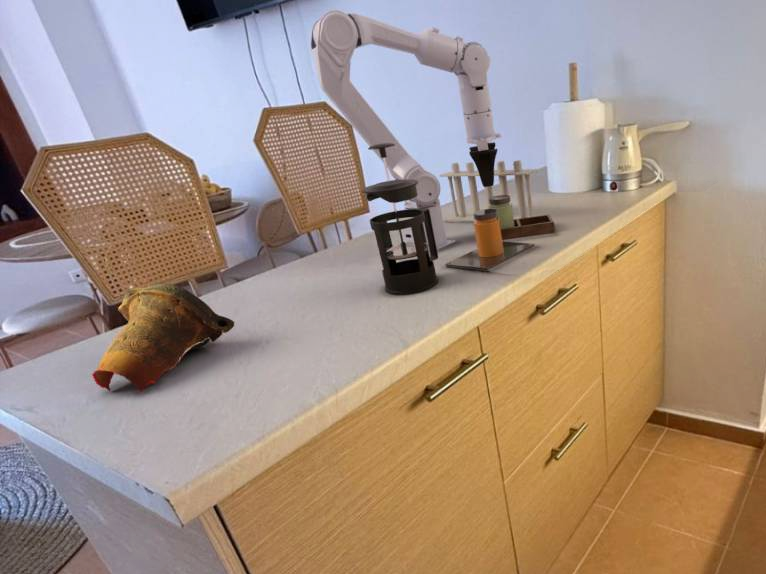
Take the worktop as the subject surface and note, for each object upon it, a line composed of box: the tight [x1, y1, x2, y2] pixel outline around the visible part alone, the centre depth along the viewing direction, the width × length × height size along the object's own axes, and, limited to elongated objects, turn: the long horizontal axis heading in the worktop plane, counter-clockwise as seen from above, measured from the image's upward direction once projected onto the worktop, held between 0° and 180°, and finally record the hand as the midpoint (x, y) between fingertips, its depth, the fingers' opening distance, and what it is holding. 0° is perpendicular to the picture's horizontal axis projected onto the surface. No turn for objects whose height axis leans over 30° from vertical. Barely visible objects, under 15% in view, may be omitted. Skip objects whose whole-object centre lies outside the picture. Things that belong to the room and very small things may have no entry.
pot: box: [91, 283, 235, 393], centre depth 77 cm, size 17×11×18 cm
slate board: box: [445, 241, 535, 273], centre depth 105 cm, size 15×10×1 cm, turn 144°
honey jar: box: [472, 208, 504, 257], centre depth 103 cm, size 5×5×8 cm
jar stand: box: [501, 213, 556, 241], centre depth 117 cm, size 14×7×3 cm, turn 94°
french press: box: [361, 143, 439, 296], centre depth 91 cm, size 12×9×23 cm
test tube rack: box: [439, 159, 538, 223], centre depth 129 cm, size 25×4×13 cm, turn 57°
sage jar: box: [489, 194, 515, 229], centre depth 115 cm, size 5×5×8 cm
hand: (487, 183), depth 117 cm, fingers open, 7 cm apart
